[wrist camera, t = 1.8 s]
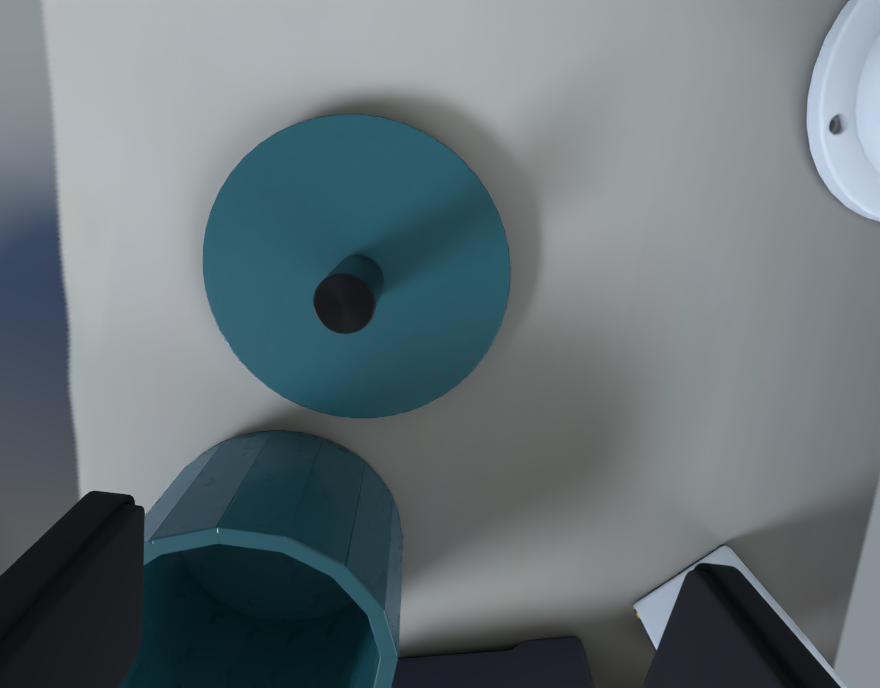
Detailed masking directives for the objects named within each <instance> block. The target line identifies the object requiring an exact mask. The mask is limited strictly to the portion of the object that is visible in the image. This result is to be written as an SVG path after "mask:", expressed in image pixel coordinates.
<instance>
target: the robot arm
mask: <svg viewBox="0 0 880 688" xmlns="http://www.w3.org/2000/svg"><path fill="white" fill-rule="evenodd" d="M807 132H808V139H809V146H810V151H811V154H812V157H813V160H814V162H815V165H816V168H817V171H818V173H819V175H820V176H821V178H822V179H823V181H824V183H825V184H826V186H827V187H828V189H829V190H830V192H831V193H832V194H833V195H834V196H835V197H836V198H837V199H839V200H840V201H841V202H842V203H843V204H844V205H845V206H846V207H848V208H849V209H851V210H853V211H855V212H856V213H858V214H860V215H862V216H863V217H866V218H869V219H873V220H876V221H880V0H849V1H848V2H847V3H846V5H845V6H844V7H843V9H842V10H841V11H840V13H839V15H838V17H837V18H836V20H835V22H834V24H833V26H832V27H831V29H830V31H829V33H828V35H827V36H826V38H825V40H824V43H823V45H822V48H821V51H820V53H819V56H818V59H817V61H816V64H815V66H814V69H813V74H812V79H811V84H810V89H809V93H808V99H807ZM144 521H145V513H144V508H143V507H142V506H137V505H135V500H134V498H133V496H131V495H126V494H118V493H109V492H101V491H91V492H89V493H88V494H86V495H85V496H84V497H83V498H82V499H81V500H80V501H79V502H78V503H77V504H75V505H74V506H73V507H72V508H71V509H70V510H69V511H68V512H67V513H66V514H65V515H64V516H63V517H62V518H61V519H60V520H59V521H58V522H57V523H56V524H55V525H53V526H52V527H51V528H50V529H49V530H48V531H47V532H46V533H45V534H44V535H43V536H42V537H41V538H40V539H39V540H38V541H37V542H36V543H35V544H34V545H33V546H32V547H30V548H29V549H28V550H27V551H26V552H25V553H24V554H23V555H22V556H21V557H20V558H19V559H18V560H17V561H16V562H15V563H14V564H13V565H11V566H10V568H8V569H7V570H6V571H5V572H4V573H3V574H2V575H1V576H0V688H120V686H121V684H122V682H123V681H124V679H125V677H126V675H127V674H128V672H129V670H130V668H131V667H132V665H133V663H134V661H135V659H136V656H137V654H138V651H139V648H140V644H141V639H142V609H143V565H144ZM644 688H841V687H840V686H839V685H838V684H837V682H836V681H835V680H834V679H833V678H832V677H831V675H830V674H829V673H828V672H827V671H826V670H825V669H824V667H823V666H822V665H821V664H820V663H819V662H818V660H817V659H816V658H815V657H814V656H813V655H812V653H811V652H810V651H809V650H808V649H807V648H806V647H805V645H804V644H803V643H802V642H801V641H800V640H799V638H798V637H797V636H796V635H795V634H794V633H793V632H792V630H791V629H790V628H789V627H788V626H787V625H786V623H785V622H784V621H783V620H782V619H781V618H780V617H779V615H778V614H777V613H776V612H775V611H774V610H773V608H772V607H771V606H770V605H769V604H768V603H767V602H766V600H765V599H764V598H763V597H762V596H761V595H760V593H759V592H758V591H757V590H756V589H755V588H754V586H753V585H752V584H751V583H750V582H749V581H748V580H747V578H746V577H745V576H744V575H743V574H742V573H741V572H740V571H739V570H738V569H737V568H735V567H733V566H728V565H720V564H711V563H699V564H698V565H696V566H695V568H694V570H690V571H689V572H688V573H687V574H686V576H685V578H684V581H683V583H682V586H681V589H680V591H679V594H678V596H677V599H676V601H675V604H674V607H673V609H672V612H671V614H670V617H669V620H668V622H667V625H666V627H665V630H664V632H663V635H662V638H661V640H660V643H659V645H658V648H657V651H656V653H655V656H654V658H653V661H652V663H651V666H650V669H649V671H648V674H647V676H646V679H645V682H644Z"/></svg>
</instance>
